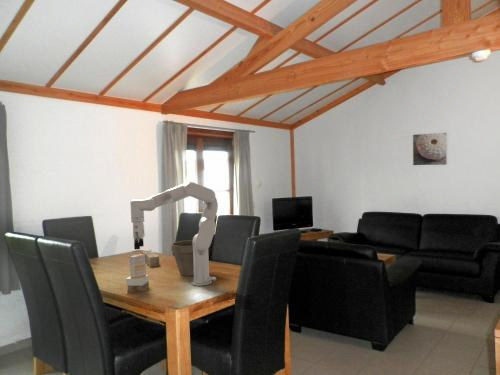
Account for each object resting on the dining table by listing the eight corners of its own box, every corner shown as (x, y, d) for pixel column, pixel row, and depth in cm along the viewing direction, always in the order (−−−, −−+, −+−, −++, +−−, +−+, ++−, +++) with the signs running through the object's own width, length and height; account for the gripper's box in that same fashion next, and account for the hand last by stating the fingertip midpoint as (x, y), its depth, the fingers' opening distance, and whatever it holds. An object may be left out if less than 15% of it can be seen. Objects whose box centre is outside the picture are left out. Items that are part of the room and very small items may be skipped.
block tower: (159, 267, 305) (151, 259, 331) (159, 256, 305) (151, 249, 331) (149, 268, 302) (141, 260, 328) (149, 257, 301) (141, 250, 327)
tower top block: (148, 281, 245) (148, 274, 245) (142, 285, 236) (142, 278, 235) (132, 281, 246) (132, 274, 246) (126, 285, 237) (126, 278, 236)
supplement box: (142, 275, 245) (141, 253, 245) (146, 276, 242) (145, 254, 241) (129, 277, 239) (129, 255, 239) (133, 278, 236) (132, 256, 236)
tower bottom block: (148, 287, 246) (148, 280, 246) (144, 291, 236) (144, 285, 236) (132, 287, 246) (132, 281, 246) (127, 292, 236) (127, 285, 236)
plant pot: (169, 278, 266) (168, 246, 265) (174, 270, 290) (173, 240, 290) (207, 277, 267) (206, 245, 267) (208, 268, 292) (208, 239, 291)
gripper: (140, 221, 232) (142, 250, 232) (147, 218, 249) (148, 245, 250) (127, 221, 232) (129, 250, 232) (134, 218, 249) (136, 245, 249)
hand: (139, 247), depth 241 cm, fingers open, 9 cm apart
